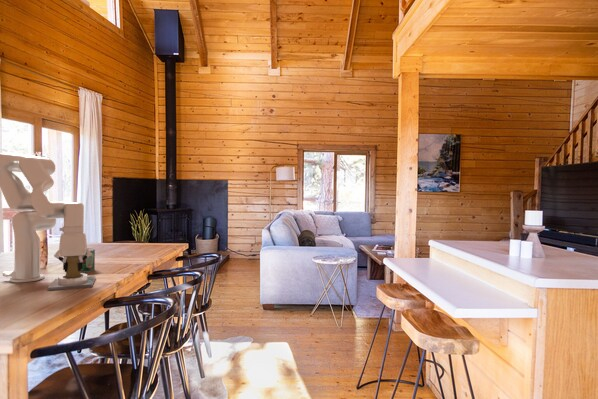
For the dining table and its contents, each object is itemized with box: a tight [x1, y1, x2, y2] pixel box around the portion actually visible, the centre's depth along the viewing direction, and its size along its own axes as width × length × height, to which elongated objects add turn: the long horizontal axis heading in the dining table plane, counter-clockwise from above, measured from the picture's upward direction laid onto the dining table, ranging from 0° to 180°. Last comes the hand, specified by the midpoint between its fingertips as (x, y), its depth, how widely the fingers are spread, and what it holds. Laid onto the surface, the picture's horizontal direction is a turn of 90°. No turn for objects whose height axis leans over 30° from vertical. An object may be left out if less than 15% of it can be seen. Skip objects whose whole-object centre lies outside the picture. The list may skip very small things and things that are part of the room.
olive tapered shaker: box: [65, 256, 81, 278], centre depth 157 cm, size 6×6×11 cm
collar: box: [46, 272, 96, 291], centre depth 158 cm, size 16×16×4 cm
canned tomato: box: [80, 247, 96, 273], centre depth 184 cm, size 8×8×11 cm
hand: (73, 270), depth 157 cm, fingers closed on olive tapered shaker, 4 cm apart
